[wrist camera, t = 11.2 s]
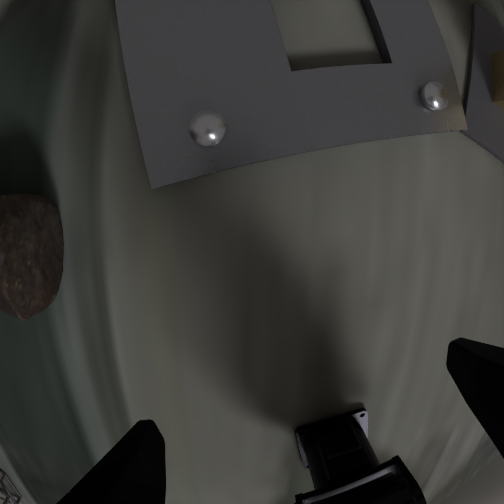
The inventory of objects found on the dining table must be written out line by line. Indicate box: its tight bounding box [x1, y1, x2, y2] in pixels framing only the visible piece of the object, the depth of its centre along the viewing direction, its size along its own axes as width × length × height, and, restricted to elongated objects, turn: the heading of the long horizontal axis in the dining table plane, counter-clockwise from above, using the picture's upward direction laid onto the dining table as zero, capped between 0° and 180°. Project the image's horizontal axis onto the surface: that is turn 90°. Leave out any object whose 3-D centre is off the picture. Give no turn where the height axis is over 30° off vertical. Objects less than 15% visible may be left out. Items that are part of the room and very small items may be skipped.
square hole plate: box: [115, 0, 468, 190], centre depth 16 cm, size 17×22×2 cm
